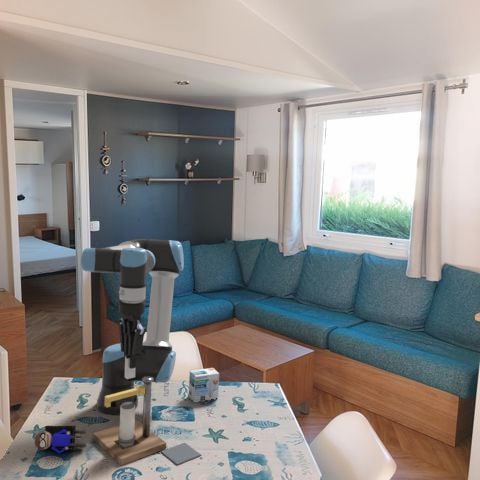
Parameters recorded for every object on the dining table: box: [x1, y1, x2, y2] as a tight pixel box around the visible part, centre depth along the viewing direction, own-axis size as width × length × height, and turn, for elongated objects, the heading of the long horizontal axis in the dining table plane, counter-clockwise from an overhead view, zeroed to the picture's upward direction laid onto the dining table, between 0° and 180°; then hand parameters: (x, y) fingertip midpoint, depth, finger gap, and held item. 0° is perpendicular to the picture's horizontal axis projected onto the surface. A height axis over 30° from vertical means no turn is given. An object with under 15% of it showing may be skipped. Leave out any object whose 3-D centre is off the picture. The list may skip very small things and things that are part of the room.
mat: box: [160, 442, 202, 466], centre depth 154 cm, size 9×9×1 cm
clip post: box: [141, 376, 154, 438], centre depth 159 cm, size 4×4×20 cm
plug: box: [118, 402, 136, 449], centre depth 155 cm, size 5×5×15 cm
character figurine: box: [34, 425, 87, 454], centre depth 152 cm, size 8×7×15 cm
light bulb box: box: [188, 367, 220, 403], centre depth 196 cm, size 11×7×11 cm, turn 118°
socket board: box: [92, 419, 167, 466], centre depth 158 cm, size 19×16×2 cm
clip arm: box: [104, 385, 145, 407], centre depth 153 cm, size 2×13×3 cm, turn 132°
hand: (129, 377), depth 146 cm, fingers closed
